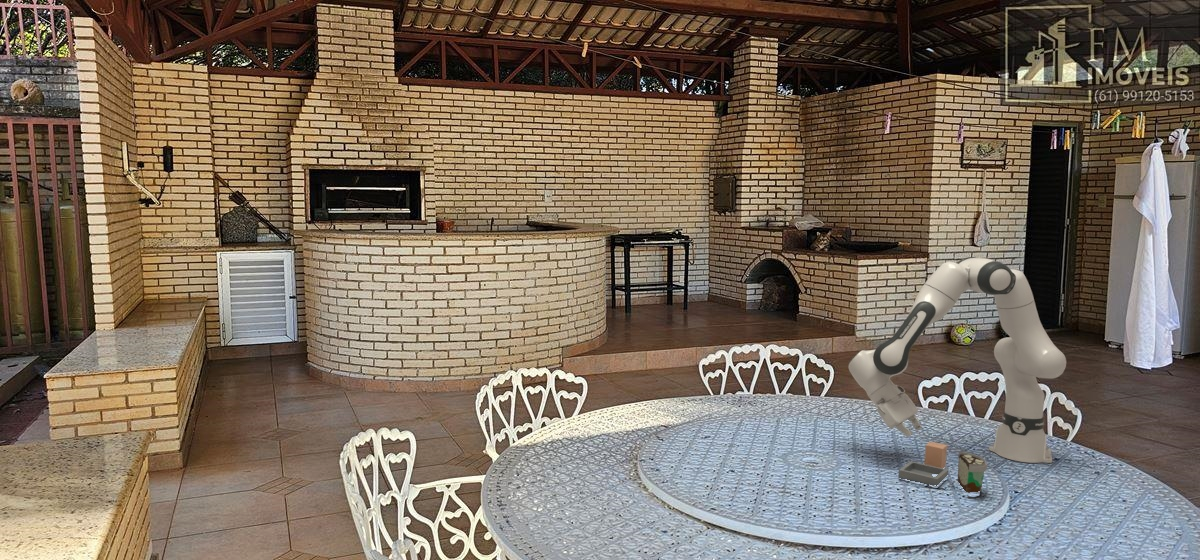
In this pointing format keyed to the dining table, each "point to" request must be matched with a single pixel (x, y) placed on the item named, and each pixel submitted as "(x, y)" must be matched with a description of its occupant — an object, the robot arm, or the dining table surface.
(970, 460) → the food container
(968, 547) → the dining table surface
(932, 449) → the tan rounded block
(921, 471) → the tray
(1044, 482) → the dining table surface
